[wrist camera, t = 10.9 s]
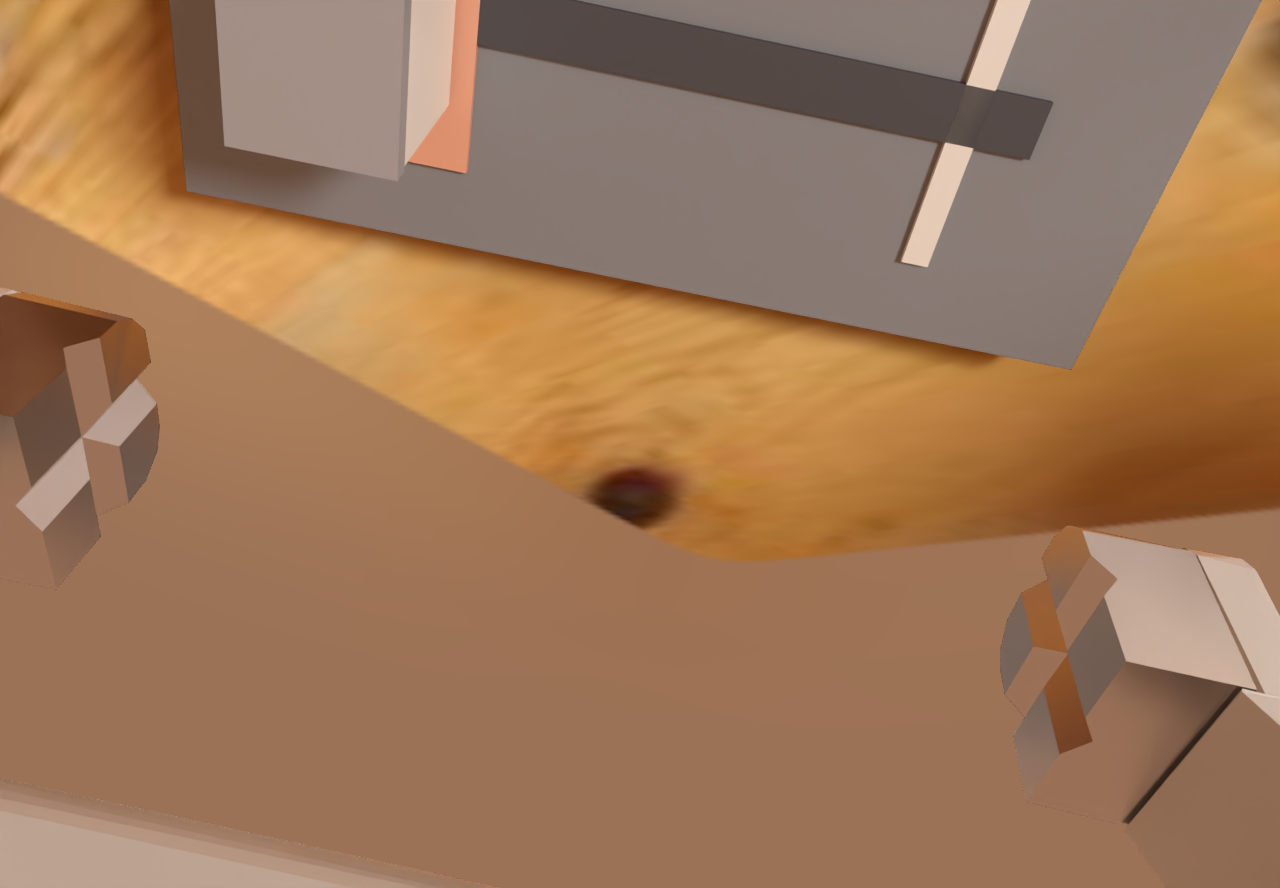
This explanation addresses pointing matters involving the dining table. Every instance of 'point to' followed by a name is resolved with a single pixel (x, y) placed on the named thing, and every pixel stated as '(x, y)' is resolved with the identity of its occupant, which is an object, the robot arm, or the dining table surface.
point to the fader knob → (334, 79)
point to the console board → (787, 151)
